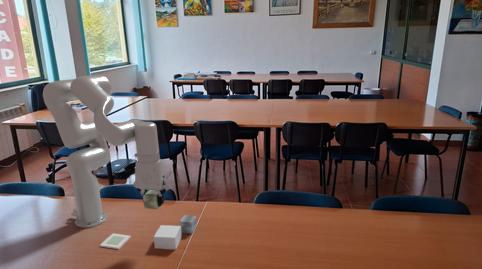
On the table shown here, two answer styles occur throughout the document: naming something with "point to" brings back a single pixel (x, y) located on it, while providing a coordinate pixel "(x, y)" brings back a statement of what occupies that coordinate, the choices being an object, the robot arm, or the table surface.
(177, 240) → the grey base block
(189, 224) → the slate block
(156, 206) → the sage block
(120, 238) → the card
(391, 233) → the table surface
